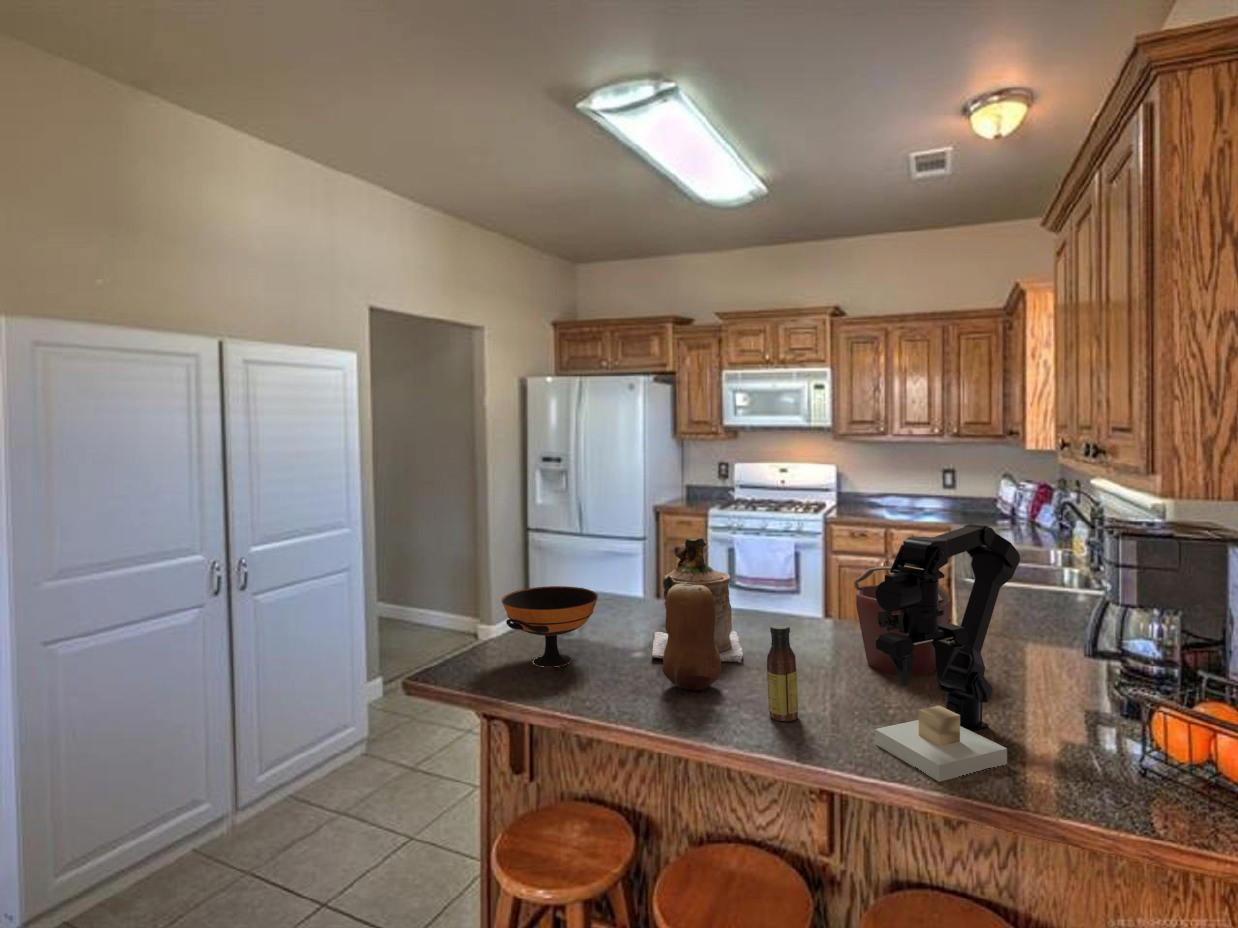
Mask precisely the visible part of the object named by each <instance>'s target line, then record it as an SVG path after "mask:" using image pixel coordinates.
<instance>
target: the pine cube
mask: <svg viewBox="0 0 1238 928" xmlns="http://www.w3.org/2000/svg"><path fill="white" fill-rule="evenodd" d="M918 720H919V736H921V737H923V738H924V739H926V740H928V741H930V742H932V743H934V744H936V745H938V746H943V745H947V744H952V743H956V742H960V715H959V714H956V713H954V712H952V711H950V710H948V709H946V708H945V707H944V706H941V705H935V706H930V707H926V708H921V709H918Z"/></svg>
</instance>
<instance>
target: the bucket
mask: <svg viewBox="0 0 1238 928" xmlns="http://www.w3.org/2000/svg"><path fill="white" fill-rule="evenodd" d="M891 567H892V565H891V566H890V565H886V566H877V567H870V568H867V570H865V571H864V572H863V574H861V575H860V576H859V577H856V578H855V579H854V580H853V585H854V588H855V590H857V592H856V596H855V598H856V602H855V603H856V605H855V606H856V611H857V617H858V622H859V627H860V631H861V638H862V642H863V647H864V652H865V658H866V664H867V666H868V667H870V668H874V669H875V670H879V671H881V672H883V673H887V674H889V675H892V676H893V675H894V676H896V675H897V676H898V673H897V670H896V668H895V665H894V663H893V661H892V659H891V658H890V657H889V656H888V655H887V654H885V653H883V652H882V651H881V650H878V649H876V638H877V637H878V636H879V635H882V634H887V633H892V632H893V633H896V634H899V635H902V636H907V634H906V633H904V634H903V633H900V632H899V630H891V631H889V632H886V628H881V627H880V626H879V623H878V612H883V611H886V610H884V609H883V608H881V606H880V605H879V604H878V602H877V599H876V590H877V587H878V585H879V584H872V585H860V584H859V583H860V582H862V581H864V580H867V579H868V578H869V577H871V576H872V574H873V573H874V572H875V571H886V570H887V571H890V570H891ZM938 609H942V610H943V615H942V616H938V624H939V623H944V622H947V623H949V620H950V617H951V611H952V596H950V594H949V593H948V591H947V590H946V589H945V587H944V586H943V585H942V584H941V583H939V582H938ZM891 613H892V615H893V614H899V613H901V610H898V611H894V612H891ZM916 640H917V639H916ZM912 655H914V656H915V657H914V662H913V667H912V671H911V676H914V677H915V676H918V677H924V676H926V675H928V674H929V673H932V672H934V671H936V659H935V648H934V646H933V645H932V643H931V642H928V643H924V644H919V645H914V651H913V652H912Z"/></svg>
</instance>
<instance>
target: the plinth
mask: <svg viewBox="0 0 1238 928" xmlns="http://www.w3.org/2000/svg"><path fill="white" fill-rule="evenodd" d="M874 744H875V745H876V746H877V747H879V748H881V749H882V750H884V751H886V752H888V753H889V754H890V755H893V756H894V757H896V758H898V759H899V760H902V761H903V762H905V763H907V764H908V765H910V766H911V767H913V768H915V767H916V768H918V769H919V770H918V769H917V770H918V771H920V770H921V771H922V773H923V772H924V773H923V774H925V773H926V774H925V775H927V776H928V777H930V778H932V779H933V780H935V781H937V782H938V783H940V782H944V781H948V780H952V779H955V778H960V777H963V776H962V775H964V776H967V775H966V774H968V775H970V774H969V773H972V774H974V773H973V772H976V771H980V770H983V769H986V768H990V767H995V768H998V767H997V766H999V767H1002V765H1003V766H1007V765H1008V748H1007V747H1004V746H1002V745H1001V744H999V743H997V742H994V741H993V740H990V739H989V738H986V737H984V736H982V735H980V734H977V733H976V732H974V731H970V730H968V729H966V728H963V727H961V726H960V742H956V743H952V744H947V745H943V746H938V745H936V744H934V743H932V742H930V741H928V740H926V739H924V738H923V737H921V736H919V719H916V720H912V721H907V722H902V723H898V724H893V725H887V726H883V727H878V728H875V729H874ZM1006 764H1007V765H1006ZM916 768H915V769H916ZM921 771H920V772H921ZM980 772H981V771H980ZM976 773H977V772H976ZM959 776H960V777H959Z"/></svg>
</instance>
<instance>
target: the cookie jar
mask: <svg viewBox="0 0 1238 928" xmlns="http://www.w3.org/2000/svg"><path fill="white" fill-rule="evenodd" d="M706 545H708V542H707V541H705V539H704V538H703V537H698V538H696V539H694V538H689V537H688V538H686V539H685V543H682V544H681V543H680V544H678V545H675V546H674V548H673V549H674V555H675V557H676V558H678V559H679V561H678V563H677V567H676V568H674V569H673V570H672V571H671V572H670V573H667V574H665V575H663V579H662V587H663V589H664V590H663V597H664V608H665V609H666V596H667V593H668V591H669V589H670V588H671V587H672V586H674V585H676V584H682V583H683V584H690V585H703V586H705V587H707V588H708V589H709V590H710V591H711V593H712V595H713V600H714V608H715V630H714V641H715V644H716V646H717V649H718V652H719V654H720V658H721V662H737V663H741V664H742V658H743V656H744V652H743V648H742V646H741V644H740V637H739V634H738V633H737V632H736V631H734V630H733V624H732V614H733V613H732V605H731V602H730V601H731V599H730V589H729V585H730V583H731V575H730V574H728V573H726V572H722V571H718V570H714V568H712V567H711V566H709V565H707V564H706V562H705V559H704V549H705V547H706ZM732 630H733V631H732ZM653 636H654V639H653V641H652V652H651V656H652V659H653V658H656V659H662V660H663V656H664V650H665V647H666V644H667V641H668V634H667V632H662V631H656V632H654V634H653Z"/></svg>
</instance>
